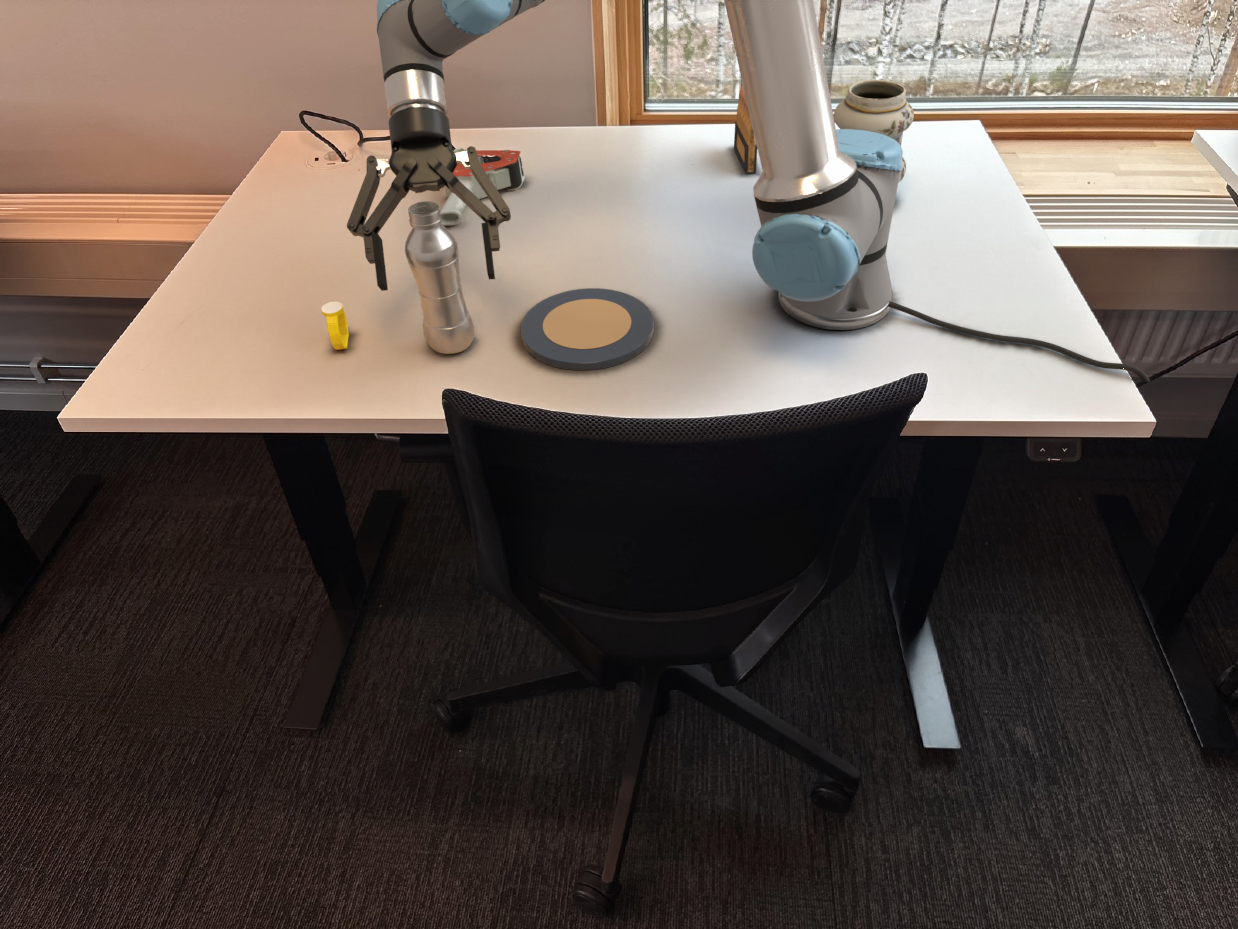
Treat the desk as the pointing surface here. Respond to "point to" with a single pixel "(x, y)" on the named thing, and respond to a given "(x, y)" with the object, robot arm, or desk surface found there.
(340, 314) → the watch
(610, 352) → the plate
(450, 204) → the tape dispenser
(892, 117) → the apothecary jar
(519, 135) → the desk surface
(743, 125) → the ammunition clip
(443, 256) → the silver metal bottle
